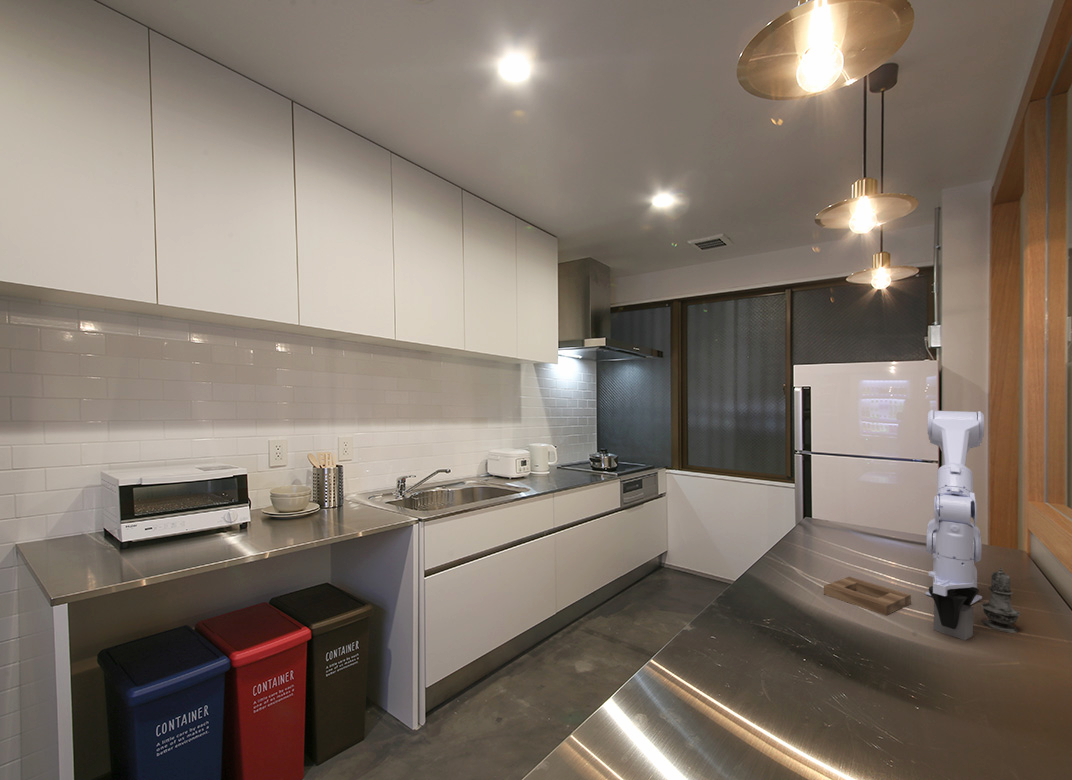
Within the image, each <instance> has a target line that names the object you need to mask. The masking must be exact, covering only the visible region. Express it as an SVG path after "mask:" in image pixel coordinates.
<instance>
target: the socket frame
mask: <svg viewBox="0 0 1072 780" xmlns="http://www.w3.org/2000/svg"><path fill="white" fill-rule="evenodd" d="M824 594H825V596H827V595H828V596H827V597H830V596H831V598H833V597H834V599H836V600H839V599H840V601H843V602H845V603H849V604H851V605H854V606H857V607H861V608H864V609H867V610H869V611H872V612H874V611H875V612H876V613H877V612H878V614H880V613H881V615H883V614H884V615H883V616H888V615H890V614H893V613H895V612H896V610H897V611H898V610H901V609H902V608H905V607H907V606H909V605H911V604H912V603H911V602H912V601H911V600H912V597H911V596H912V595H911V594H909V593H906V592H902V591H900V590H895V589H892V588H889V587H885V586H882V585H879V584H875V583H872V582H869V581H865V580H862V579H859V578H856V577H851V576H846V577H844V578H840V579H839V580H836V581H833V582H830V583H828V584H825V585H823V595H824ZM894 611H895V612H894ZM875 612H874V613H875ZM892 612H893V613H892Z"/></svg>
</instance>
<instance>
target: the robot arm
mask: <svg viewBox="0 0 1072 780" xmlns="http://www.w3.org/2000/svg"><path fill="white" fill-rule="evenodd" d="M927 435H928V440H929V441H930V442H929V443H930V444H931V445H934V446H937V447H939V449H940V451H941V452H942V465H941V466H940V467H938V469H937V474H936V475H937V477H936V478H937V479H936V480H937V481H936V495H935V496H934V497H933V518H932V519H930V520H928V521H929V522H928V523H927V528H926V552H927V553H928V554H929V555H932V560H933V562H932V563H933V564H932V570H931V571H928V575H927V576H928V577H931V578H932V586H929V587H928V591H926V592H925V595H927V596H929V597H931V598H932V599H933V601H934V602H935V604H936V606H937V610H938V613H939V617H940V621H941V624H942V626H945V627H948V628H951V629H956V627H957V624H958V619H959V613H960V610H961V607H962V605H967V606H970V607H971V606H972V605H973V604H975V603H976V602H978V601H980V600H982V599H983V596H982V595H979V591H980V590H979V588H978V569H977V567H976V566H975V563H979V562H980V561H981V560H982V537H981V533H982V532H981V530H980V529H979V526H978V525H977V522H978V502H977V500H976V493H975V492H974V474H973V473H974V472H973V471H972V470H971V469H970V468H968V466H967V457H968V453H969V451H970V450H971V449H973V448H977V447H980V446H981V444H982V442H983V438H984V435H985V415H984V413H983V412H982V411H980V410H979V411H958V410H957V411H956V410H954V411H953V410H952V411H951V410H934V409H930V410H929V411H928V412H927ZM971 520H973V522H972V521H971ZM934 602H933V603H934Z"/></svg>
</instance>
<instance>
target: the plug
mask: <svg viewBox="0 0 1072 780" xmlns="http://www.w3.org/2000/svg"><path fill="white" fill-rule="evenodd" d="M933 630H934V631H936V632H939V633H942V634H945V635H948V636H951V637H952V638H953V637H954V638H956V639H960V640H962V641H967V640H968V639H970V638H971V637H973V636H974V607H973V606H971V605H970V606H967V605H962V607H961V610H960V613H959V619H958V624H957V627H956V629H951V628H948V627H945V626H942V624H941V621H940V617H939V613H938V610H937V606H936V604H935V602H933Z"/></svg>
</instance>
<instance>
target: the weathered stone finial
mask: <svg viewBox="0 0 1072 780" xmlns="http://www.w3.org/2000/svg"><path fill="white" fill-rule="evenodd" d="M1003 571H1004V570H1003V568H1002V567H999V569H998V571H995V572H992V573H991V575H990V576H991V577H990V578H991V580H990V581H991V583H990V585H991V586H990V587H988V590H989V591H990V599H989V602H985V603H981V605H980V606H981V608H982V610H983V613H984V615H985V616H986V618H988V619H984V620H982V624H983V625H984V626H986V627H988V628H991V629H993V630H996V631H999V632H1004V633H1008V634H1009V633H1010V634H1015V633H1018V632H1019V629H1018V628H1017V627H1015V626H1014V625H1012V624H1015V623H1016V622H1017V621H1018V619H1019V616H1021V612H1019V610H1016V609H1015V608H1013V606H1012V603H1011V600H1012V599H1011V598H1012V597H1011V596H1012V595H1013V594H1014V592H1012V591H1011V577H1010V575H1009V574H1007V573H1005V572H1003Z"/></svg>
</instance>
